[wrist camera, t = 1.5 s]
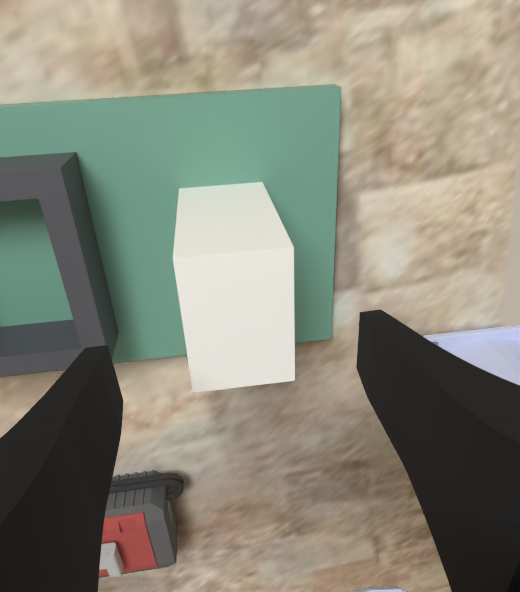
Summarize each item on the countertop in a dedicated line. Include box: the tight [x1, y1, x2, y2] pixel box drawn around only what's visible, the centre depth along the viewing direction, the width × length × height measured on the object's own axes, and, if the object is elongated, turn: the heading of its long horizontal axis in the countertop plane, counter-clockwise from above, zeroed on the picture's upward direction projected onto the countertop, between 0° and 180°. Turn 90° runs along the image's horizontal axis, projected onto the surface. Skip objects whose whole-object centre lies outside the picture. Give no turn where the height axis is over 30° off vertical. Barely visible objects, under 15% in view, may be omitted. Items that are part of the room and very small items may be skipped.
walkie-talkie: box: [99, 470, 184, 578], centre depth 27 cm, size 9×4×20 cm
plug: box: [173, 182, 295, 393], centre depth 18 cm, size 4×5×7 cm
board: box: [0, 85, 341, 377], centre depth 19 cm, size 20×12×4 cm, turn 93°
